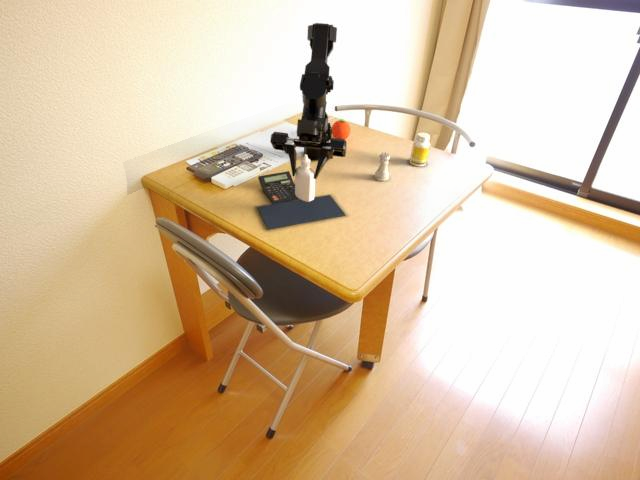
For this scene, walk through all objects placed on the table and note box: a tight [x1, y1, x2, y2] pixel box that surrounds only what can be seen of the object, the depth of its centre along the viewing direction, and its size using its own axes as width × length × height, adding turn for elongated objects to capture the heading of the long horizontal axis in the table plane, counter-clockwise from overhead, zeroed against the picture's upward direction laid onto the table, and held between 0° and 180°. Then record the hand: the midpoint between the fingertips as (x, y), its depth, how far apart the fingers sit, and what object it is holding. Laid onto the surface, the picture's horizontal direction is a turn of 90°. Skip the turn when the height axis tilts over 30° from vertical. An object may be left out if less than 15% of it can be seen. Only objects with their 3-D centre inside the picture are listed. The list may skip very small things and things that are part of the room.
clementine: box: [331, 119, 352, 140], centre depth 145 cm, size 8×7×7 cm
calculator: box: [257, 170, 300, 204], centre depth 114 cm, size 9×12×3 cm
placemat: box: [256, 194, 346, 230], centre depth 107 cm, size 21×10×1 cm, turn 112°
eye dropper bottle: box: [294, 154, 316, 202], centre depth 102 cm, size 4×6×12 cm
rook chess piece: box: [374, 152, 391, 182], centre depth 122 cm, size 4×4×8 cm
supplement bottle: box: [409, 132, 431, 167], centre depth 132 cm, size 5×5×10 cm
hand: (304, 177), depth 101 cm, fingers closed on eye dropper bottle, 5 cm apart
